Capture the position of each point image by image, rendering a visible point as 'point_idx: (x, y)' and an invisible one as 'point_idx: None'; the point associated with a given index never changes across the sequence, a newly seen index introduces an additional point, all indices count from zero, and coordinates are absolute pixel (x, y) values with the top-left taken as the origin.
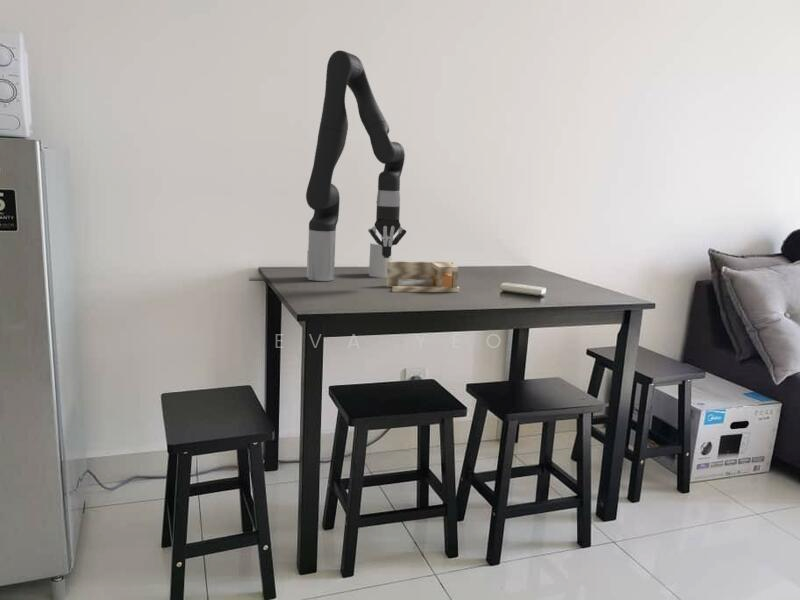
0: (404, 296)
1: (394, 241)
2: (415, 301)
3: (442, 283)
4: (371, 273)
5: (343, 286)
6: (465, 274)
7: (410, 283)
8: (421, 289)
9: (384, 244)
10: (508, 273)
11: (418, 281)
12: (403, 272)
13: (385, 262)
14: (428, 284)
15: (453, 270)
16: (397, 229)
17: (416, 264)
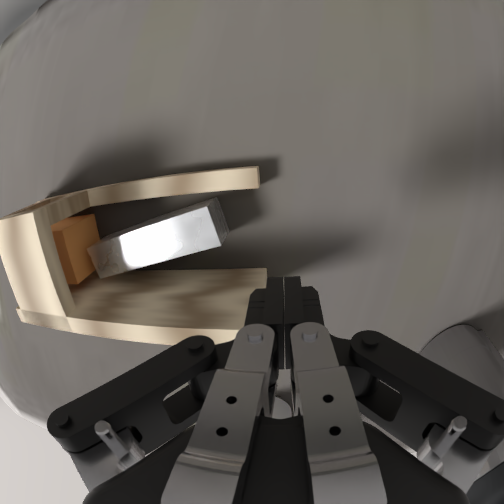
0: (225, 82)
1: (203, 359)
2: (200, 11)
3: (67, 222)
4: (287, 411)
5: (430, 260)
6: (65, 392)
7: (173, 215)
8: (140, 179)
9: (318, 334)
10: (18, 380)
11: (138, 228)
12: (187, 298)
13: None
14: (110, 236)
15: (9, 216)
16: (130, 471)
17: (119, 316)
